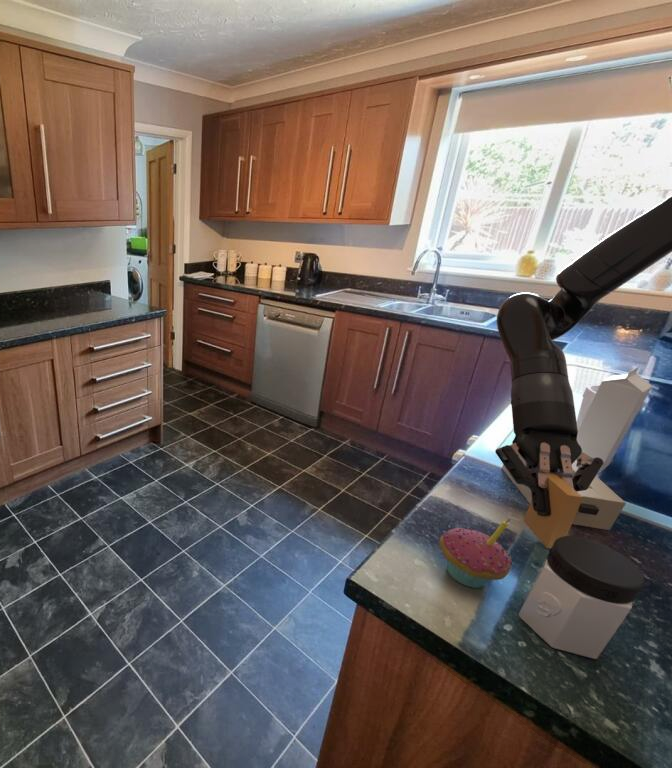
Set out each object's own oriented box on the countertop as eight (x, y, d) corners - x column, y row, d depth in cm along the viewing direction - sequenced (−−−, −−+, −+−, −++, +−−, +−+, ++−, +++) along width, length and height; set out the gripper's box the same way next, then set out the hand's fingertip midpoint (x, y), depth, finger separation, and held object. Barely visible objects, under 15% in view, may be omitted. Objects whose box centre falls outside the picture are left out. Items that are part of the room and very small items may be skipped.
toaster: (501, 468, 89) (511, 443, 87) (557, 476, 87) (569, 451, 84) (545, 523, 74) (559, 496, 72) (614, 535, 72) (631, 507, 69)
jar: (501, 602, 59) (533, 537, 54) (548, 593, 61) (584, 529, 56) (568, 666, 51) (614, 597, 46) (621, 654, 53) (670, 585, 48)
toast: (536, 523, 67) (555, 473, 64) (561, 550, 61) (583, 497, 58) (523, 521, 68) (541, 471, 65) (546, 547, 62) (567, 494, 59)
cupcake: (498, 569, 64) (528, 507, 60) (501, 610, 58) (534, 545, 53) (433, 545, 69) (456, 485, 64) (429, 580, 62) (454, 517, 57)
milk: (562, 459, 93) (607, 366, 84) (573, 451, 96) (618, 360, 86) (599, 474, 88) (651, 376, 79) (609, 465, 91) (660, 370, 82)
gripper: (505, 393, 66) (514, 505, 60) (612, 405, 63) (632, 525, 57) (481, 408, 73) (487, 510, 67) (576, 419, 70) (590, 528, 64)
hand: (553, 516), depth 62 cm, fingers closed on toast, 1 cm apart
